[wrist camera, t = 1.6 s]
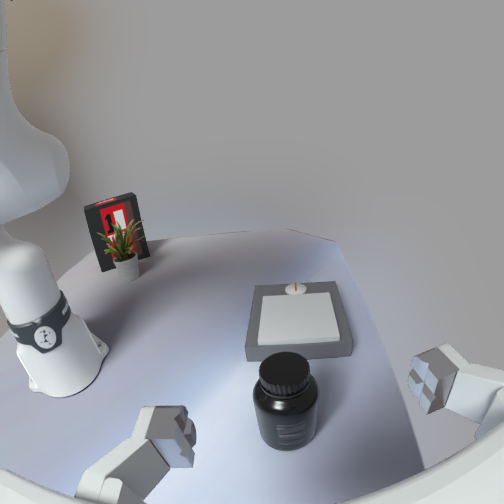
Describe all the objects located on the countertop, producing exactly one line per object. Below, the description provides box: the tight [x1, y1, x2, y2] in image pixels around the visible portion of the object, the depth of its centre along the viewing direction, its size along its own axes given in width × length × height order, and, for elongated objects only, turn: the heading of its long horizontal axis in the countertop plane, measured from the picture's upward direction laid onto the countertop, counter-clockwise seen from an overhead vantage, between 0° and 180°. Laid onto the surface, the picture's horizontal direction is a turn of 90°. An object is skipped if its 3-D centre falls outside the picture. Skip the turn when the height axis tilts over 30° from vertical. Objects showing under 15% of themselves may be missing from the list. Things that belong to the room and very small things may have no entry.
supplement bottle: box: [253, 351, 319, 451], centre depth 27 cm, size 7×7×12 cm
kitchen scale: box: [245, 281, 353, 361], centre depth 48 cm, size 16×18×4 cm
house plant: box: [97, 219, 145, 282], centre depth 69 cm, size 14×14×16 cm
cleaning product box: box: [84, 192, 150, 272], centre depth 81 cm, size 16×9×20 cm, turn 123°
